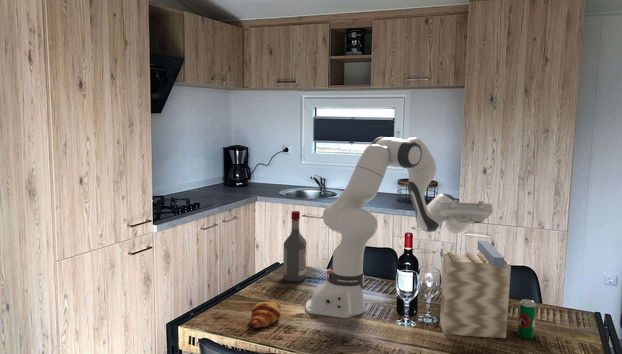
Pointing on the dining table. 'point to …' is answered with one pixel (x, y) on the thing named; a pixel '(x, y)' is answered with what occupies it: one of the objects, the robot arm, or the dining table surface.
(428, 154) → the robot arm
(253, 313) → the croissant
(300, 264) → the liquor
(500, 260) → the beam
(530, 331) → the soda can
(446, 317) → the zigzag patterned box
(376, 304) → the dining table surface
